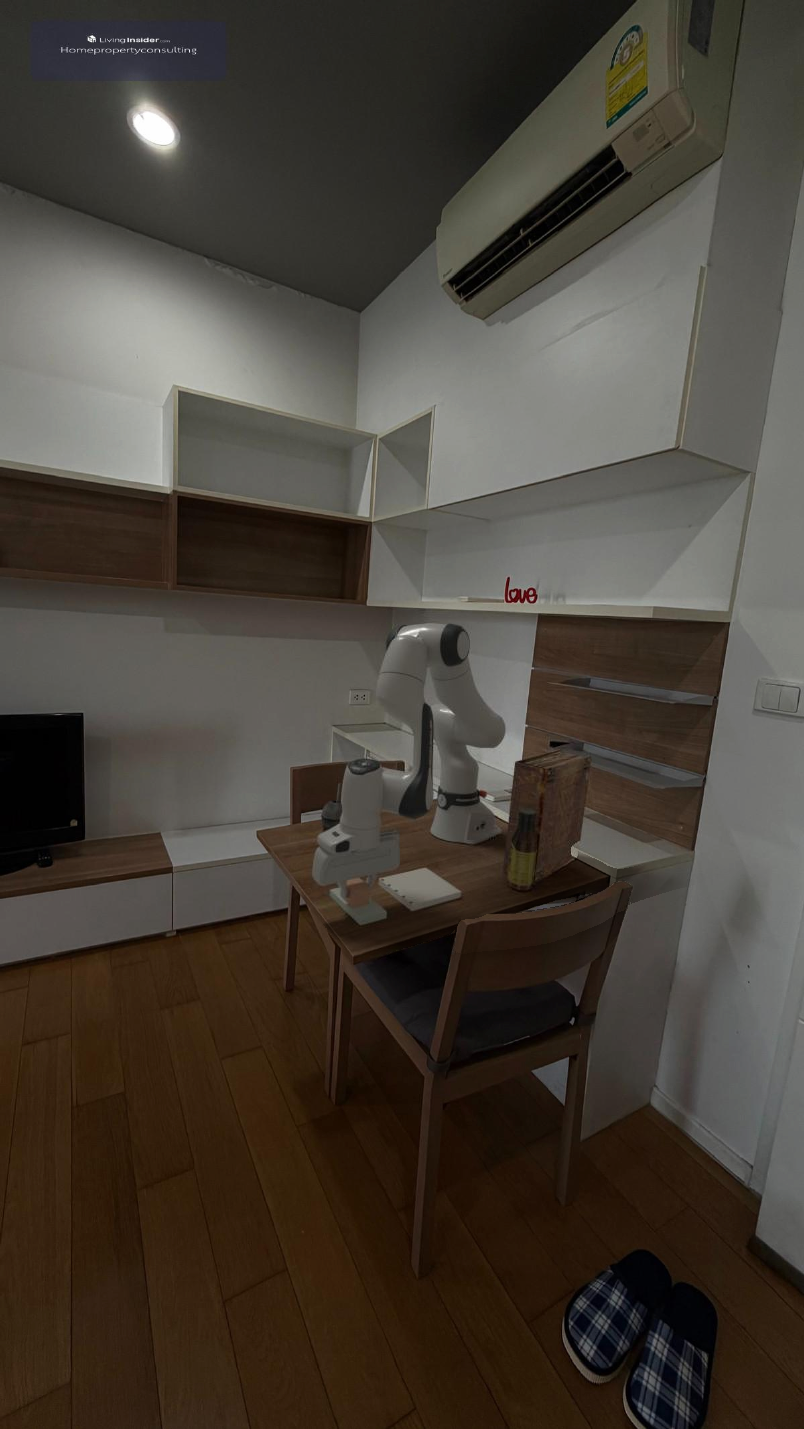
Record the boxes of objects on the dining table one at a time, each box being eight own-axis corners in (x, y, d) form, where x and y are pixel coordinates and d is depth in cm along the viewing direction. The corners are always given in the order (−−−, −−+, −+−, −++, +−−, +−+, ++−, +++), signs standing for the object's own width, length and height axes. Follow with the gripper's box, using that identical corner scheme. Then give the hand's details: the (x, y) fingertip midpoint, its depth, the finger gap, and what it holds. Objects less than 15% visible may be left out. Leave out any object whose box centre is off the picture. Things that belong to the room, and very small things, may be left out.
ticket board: (425, 873, 146) (425, 867, 145) (460, 897, 134) (461, 891, 134) (378, 884, 138) (378, 878, 137) (411, 911, 126) (412, 904, 126)
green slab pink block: (354, 889, 134) (355, 867, 133) (386, 918, 123) (388, 894, 122) (329, 895, 130) (330, 873, 129) (360, 925, 119) (361, 901, 118)
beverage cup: (313, 858, 149) (316, 785, 146) (329, 849, 155) (333, 778, 152) (336, 866, 146) (340, 790, 142) (352, 856, 152) (356, 784, 149)
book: (548, 848, 168) (561, 748, 163) (578, 858, 162) (592, 755, 157) (502, 872, 149) (514, 761, 144) (533, 885, 143) (547, 770, 138)
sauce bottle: (514, 877, 147) (523, 803, 143) (536, 886, 143) (546, 810, 139) (501, 886, 142) (510, 809, 138) (524, 895, 138) (534, 816, 134)
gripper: (392, 822, 132) (387, 878, 134) (310, 837, 120) (307, 898, 123) (407, 832, 127) (403, 890, 129) (324, 848, 115) (320, 911, 117)
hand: (355, 894), depth 126 cm, fingers closed on green slab pink block, 4 cm apart
